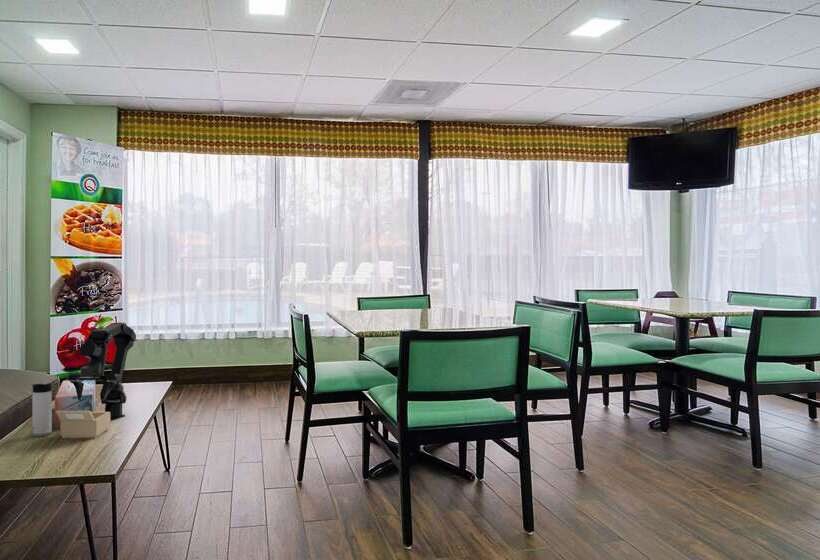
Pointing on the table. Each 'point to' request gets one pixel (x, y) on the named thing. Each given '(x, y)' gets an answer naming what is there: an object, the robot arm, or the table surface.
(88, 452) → the table surface
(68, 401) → the soda box
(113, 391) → the robot arm
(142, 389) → the table surface
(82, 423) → the carton
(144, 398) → the table surface
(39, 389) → the travel mug
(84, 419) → the carton flap
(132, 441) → the table surface
